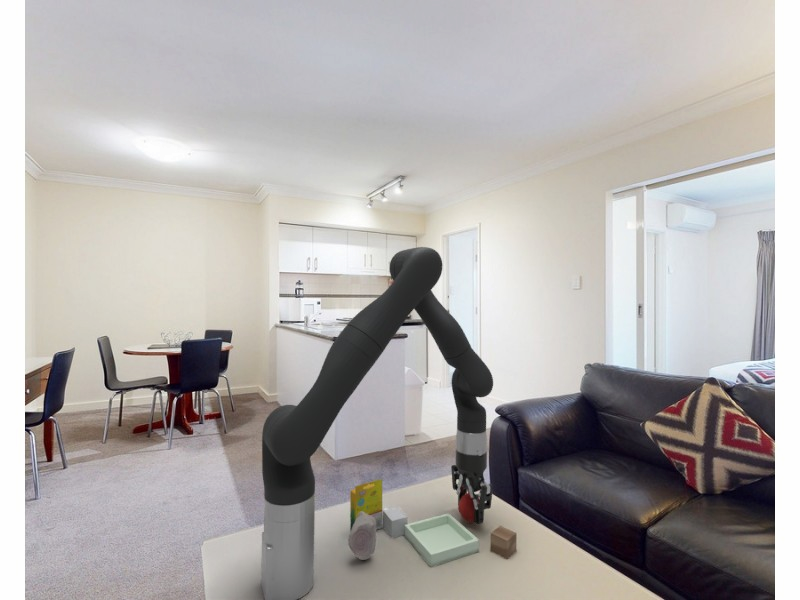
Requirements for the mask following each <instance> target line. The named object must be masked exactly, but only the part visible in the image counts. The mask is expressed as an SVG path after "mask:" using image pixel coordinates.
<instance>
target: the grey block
mask: <svg viewBox="0 0 800 600" xmlns="http://www.w3.org/2000/svg"><path fill="white" fill-rule="evenodd" d="M406 524H408V515H406V513H404V512H403V511H402V509H401V508H400V507H399V506H396V507H392V508H388V509H387V508H386V509H382V525H383V527H382V529H384V530H385V532H386V533H387V534H388V535H389V537H390V538H391V539H393V538H397V537H400V536H404V532H405V525H406Z"/></svg>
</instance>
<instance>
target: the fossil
mask: <svg viewBox="0 0 800 600" xmlns="http://www.w3.org/2000/svg"><path fill="white" fill-rule="evenodd" d="M347 545H348V548H349V549H350V552H351V553H352V554H353V555H354V556H355V557H356V558H357V559H359V560H363V561H364V560H365V561H366V560H368V559H370V558H371V556H372V555H374V554H375V552H376V548H377V529H376V520H375V518H374V517H371V516H369V515H368V514H365V513H364V512H363V511H361V512H359V514H358V515H357V519H356V521H355V523H354V524H353V527H352V529H351V531H350V533H349V535H348V543H347Z"/></svg>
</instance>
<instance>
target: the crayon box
mask: <svg viewBox="0 0 800 600" xmlns="http://www.w3.org/2000/svg"><path fill="white" fill-rule="evenodd" d="M354 487H355V488H353V489H350V496H349V498H350V501H349V502H350V509H349V510H350V511H349V512H350V522H349V523H350V525H349V526H350V527H349V528H350V532H351V529H352V527H353V524H354V523H355V521H356V519H357V515H358V514H359V512H361V511H363V512H364V513H365V514H368V515H369V516H371V517H374V518H375V520H376V530H378V529H383V478H379V479H375V480H372V481H368V482H365V483H362V484H358V485H355V486H354Z"/></svg>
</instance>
